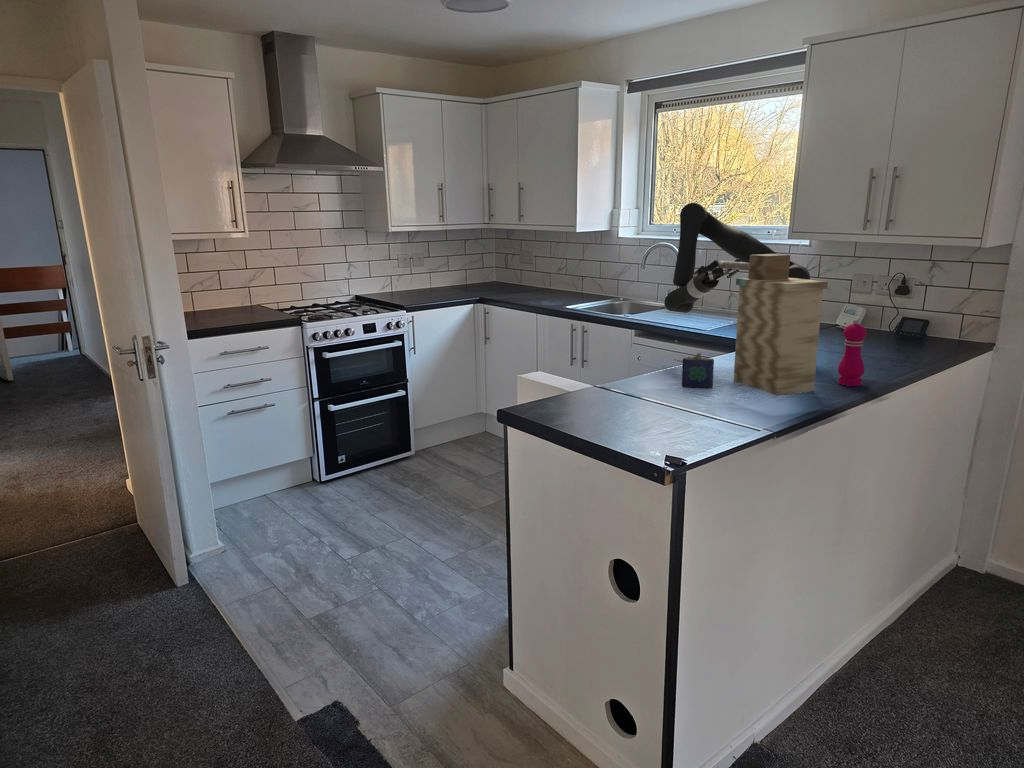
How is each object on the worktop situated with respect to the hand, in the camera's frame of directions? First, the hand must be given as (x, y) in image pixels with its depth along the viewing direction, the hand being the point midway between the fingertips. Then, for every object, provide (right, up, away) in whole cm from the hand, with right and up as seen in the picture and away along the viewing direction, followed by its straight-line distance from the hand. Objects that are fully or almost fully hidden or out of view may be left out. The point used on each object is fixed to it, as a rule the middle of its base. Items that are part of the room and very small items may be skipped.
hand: (728, 261), depth 214 cm
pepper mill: (+32, -40, -15) cm, 53 cm away
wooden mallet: (+3, -6, -8) cm, 11 cm away
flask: (-14, -41, -14) cm, 46 cm away
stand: (+9, -40, -14) cm, 44 cm away
